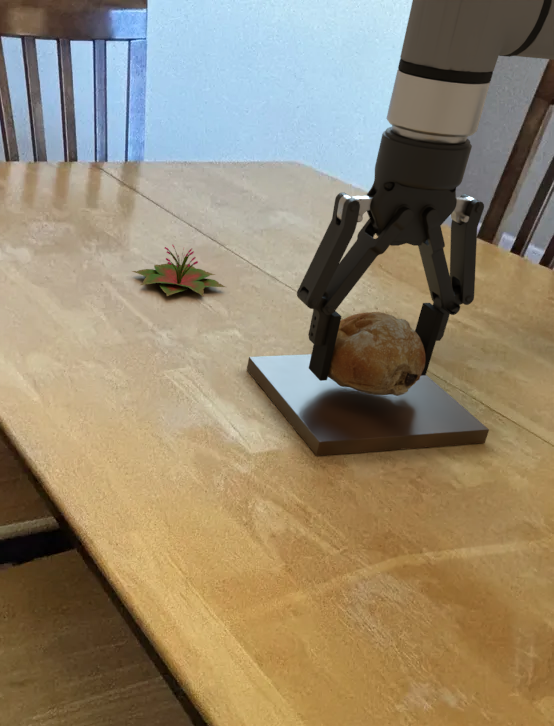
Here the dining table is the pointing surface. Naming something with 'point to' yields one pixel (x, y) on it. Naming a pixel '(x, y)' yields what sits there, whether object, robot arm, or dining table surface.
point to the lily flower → (178, 276)
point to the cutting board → (362, 411)
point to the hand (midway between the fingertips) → (367, 371)
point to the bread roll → (377, 354)
